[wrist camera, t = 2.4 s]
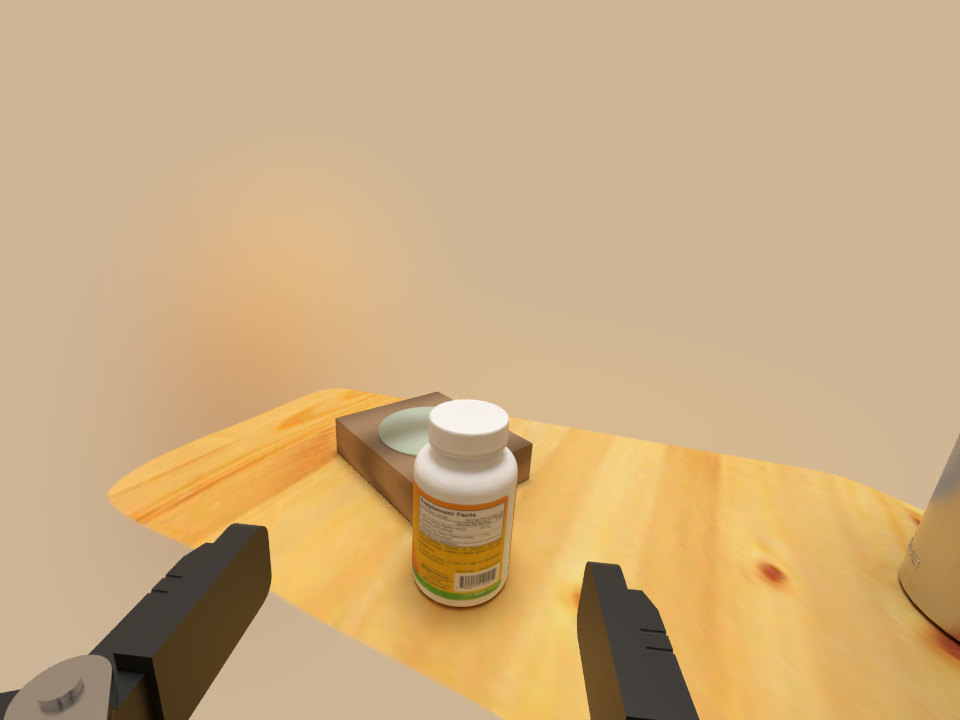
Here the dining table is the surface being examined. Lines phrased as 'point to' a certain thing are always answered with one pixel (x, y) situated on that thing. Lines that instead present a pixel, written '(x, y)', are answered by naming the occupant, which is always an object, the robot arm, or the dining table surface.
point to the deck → (401, 446)
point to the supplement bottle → (463, 504)
